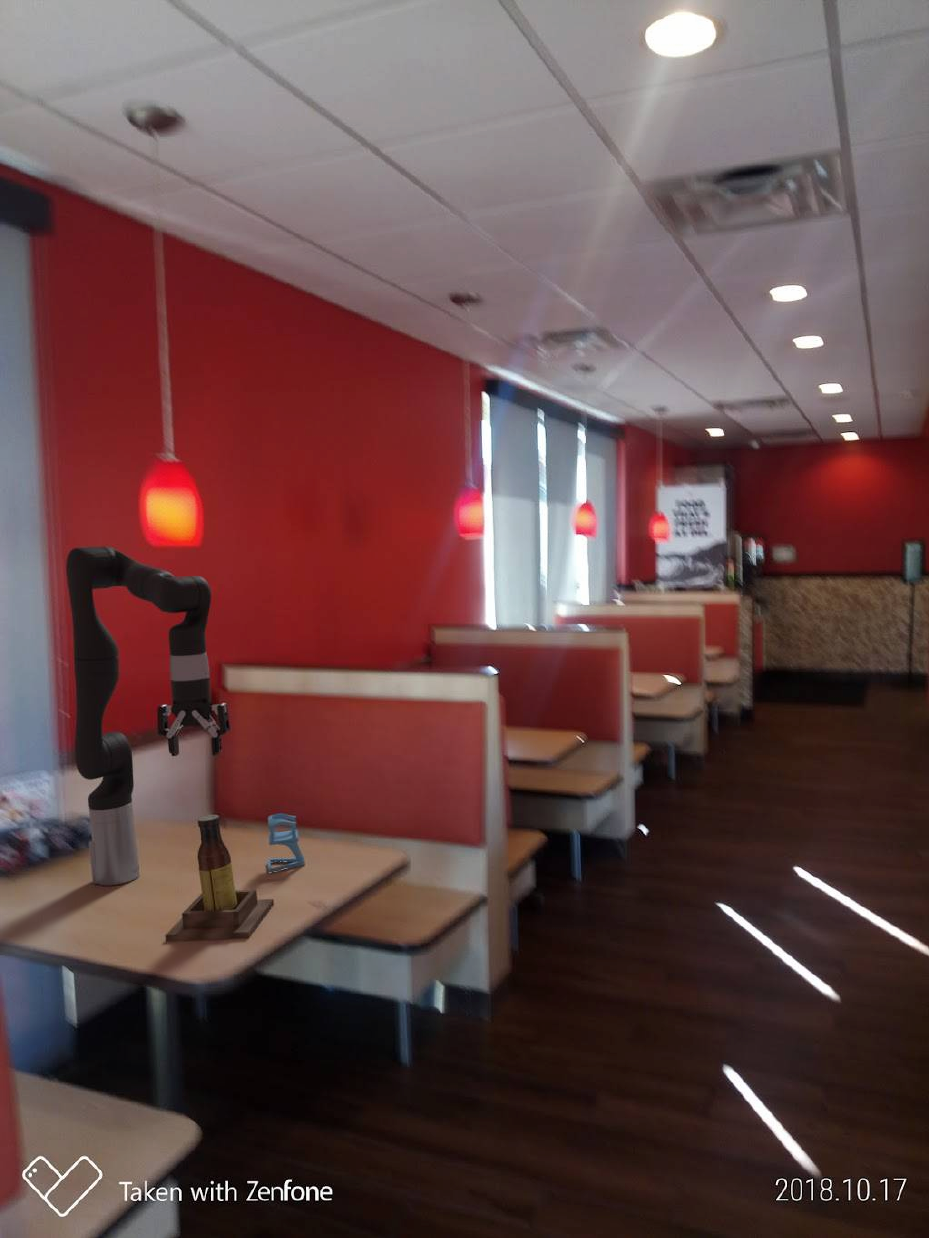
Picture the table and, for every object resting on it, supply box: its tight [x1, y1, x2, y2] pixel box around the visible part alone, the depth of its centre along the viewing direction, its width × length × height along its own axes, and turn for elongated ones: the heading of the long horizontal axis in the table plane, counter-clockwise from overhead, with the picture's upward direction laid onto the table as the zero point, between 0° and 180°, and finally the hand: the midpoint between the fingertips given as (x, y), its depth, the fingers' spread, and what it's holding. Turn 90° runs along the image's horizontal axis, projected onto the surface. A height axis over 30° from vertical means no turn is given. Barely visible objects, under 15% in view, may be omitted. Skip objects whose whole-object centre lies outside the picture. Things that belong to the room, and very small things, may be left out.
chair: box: [267, 813, 306, 873], centre depth 213 cm, size 8×8×12 cm
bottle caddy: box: [164, 889, 275, 942], centre depth 183 cm, size 16×16×4 cm
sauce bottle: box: [196, 814, 237, 911], centre depth 182 cm, size 6×6×20 cm
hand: (195, 755), depth 190 cm, fingers open, 8 cm apart
